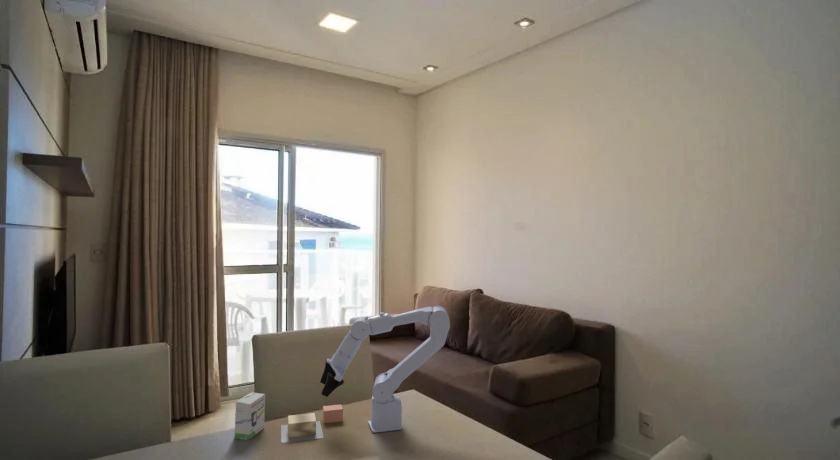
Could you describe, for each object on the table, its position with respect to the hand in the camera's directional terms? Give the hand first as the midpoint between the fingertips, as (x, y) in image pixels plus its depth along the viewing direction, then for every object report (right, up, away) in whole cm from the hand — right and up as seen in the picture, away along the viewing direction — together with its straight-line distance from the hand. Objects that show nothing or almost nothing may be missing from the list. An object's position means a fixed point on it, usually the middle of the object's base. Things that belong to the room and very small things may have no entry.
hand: (323, 389), depth 142 cm
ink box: (-21, -12, -8) cm, 25 cm away
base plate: (-5, -12, -6) cm, 14 cm away
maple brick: (-5, -11, -6) cm, 13 cm away
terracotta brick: (+2, -12, +2) cm, 12 cm away
